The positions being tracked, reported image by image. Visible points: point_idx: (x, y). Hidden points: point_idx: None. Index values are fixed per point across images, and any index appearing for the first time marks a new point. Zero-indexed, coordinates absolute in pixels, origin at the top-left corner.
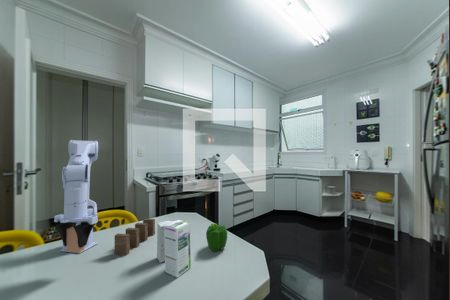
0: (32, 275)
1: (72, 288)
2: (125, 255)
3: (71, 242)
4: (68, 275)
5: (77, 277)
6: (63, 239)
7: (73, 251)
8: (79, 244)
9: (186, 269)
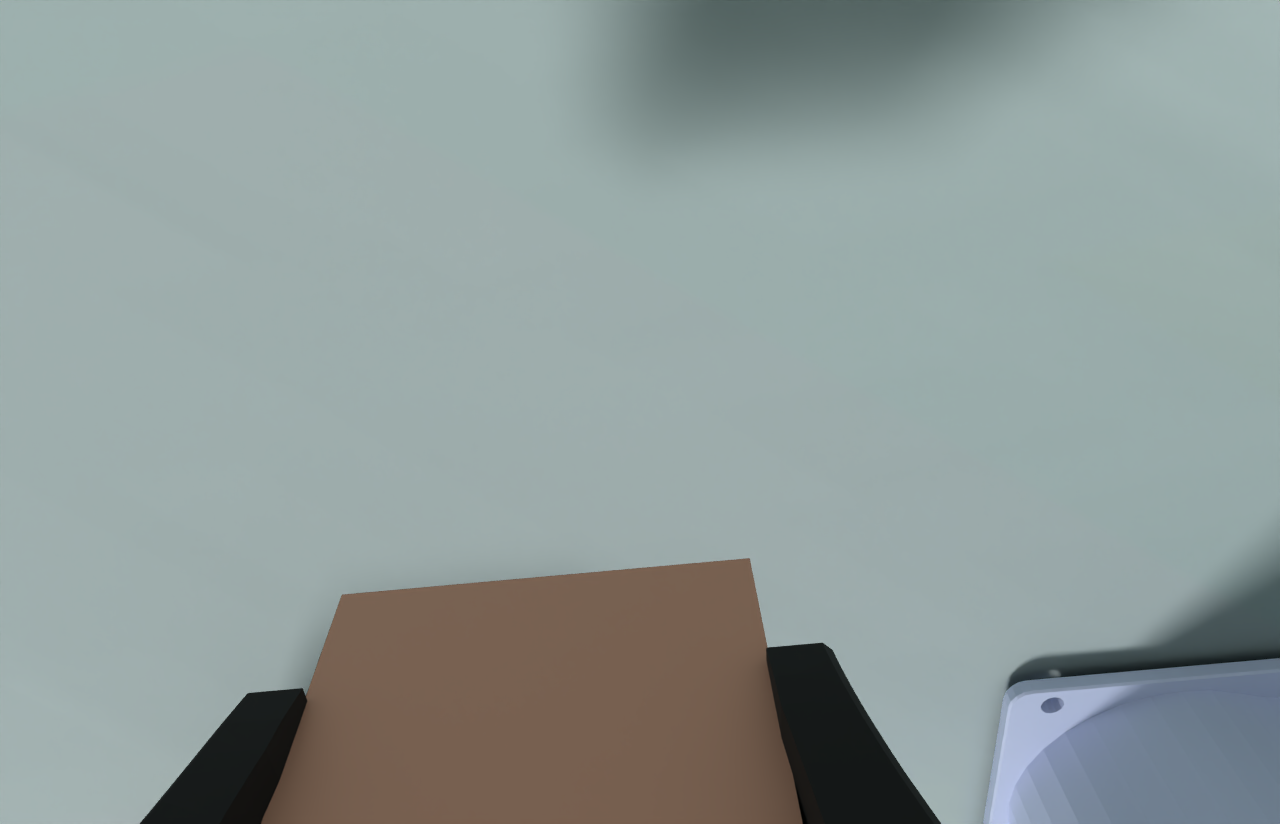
0: (1235, 114)
1: (80, 68)
2: None
3: (580, 773)
4: (565, 282)
5: (351, 286)
6: (841, 809)
7: (523, 588)
8: (200, 762)
9: None
